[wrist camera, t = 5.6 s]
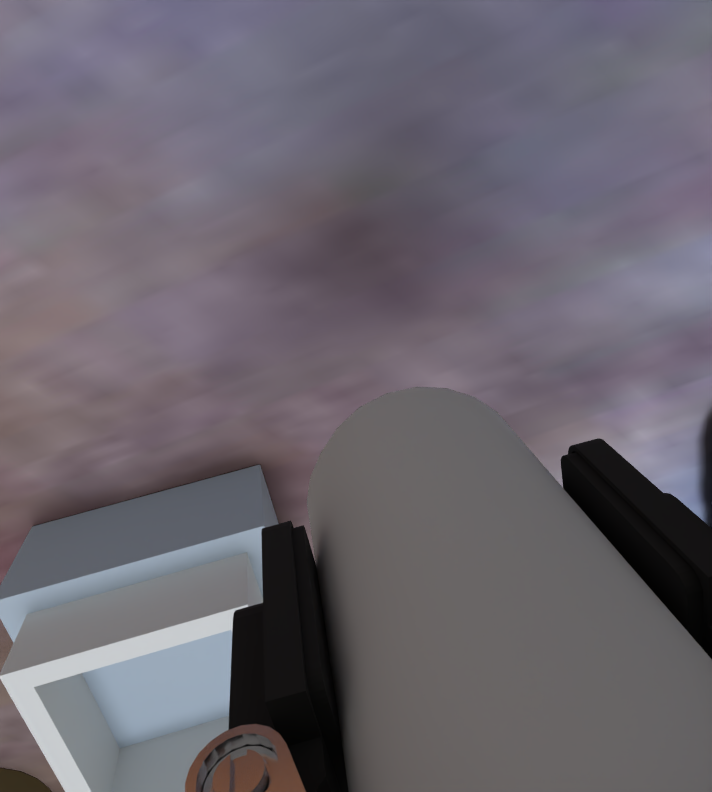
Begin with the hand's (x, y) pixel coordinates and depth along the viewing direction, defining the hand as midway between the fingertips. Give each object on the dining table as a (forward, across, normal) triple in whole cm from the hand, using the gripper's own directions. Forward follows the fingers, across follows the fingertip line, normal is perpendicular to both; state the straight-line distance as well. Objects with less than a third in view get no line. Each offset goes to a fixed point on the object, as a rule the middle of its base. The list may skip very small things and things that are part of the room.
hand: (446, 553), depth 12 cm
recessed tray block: (+16, +10, +15) cm, 24 cm away
